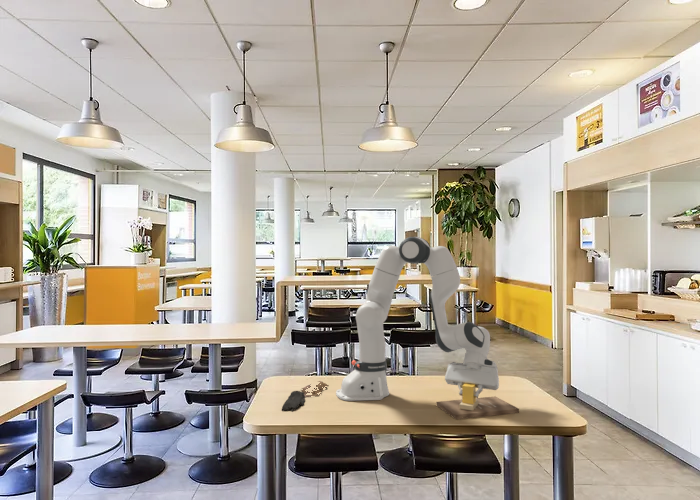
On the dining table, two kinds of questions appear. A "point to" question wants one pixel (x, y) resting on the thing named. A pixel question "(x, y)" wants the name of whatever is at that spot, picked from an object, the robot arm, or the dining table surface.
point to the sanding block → (468, 397)
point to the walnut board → (478, 408)
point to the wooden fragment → (315, 389)
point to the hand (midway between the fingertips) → (468, 395)
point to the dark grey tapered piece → (294, 401)
